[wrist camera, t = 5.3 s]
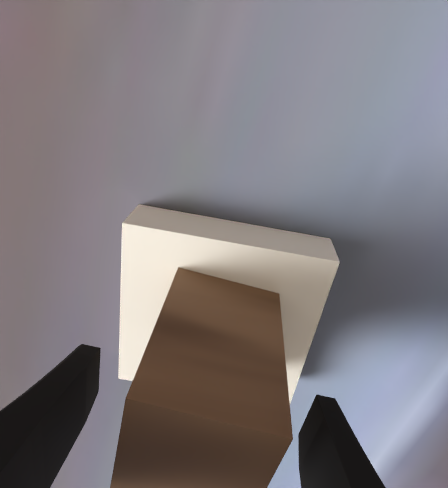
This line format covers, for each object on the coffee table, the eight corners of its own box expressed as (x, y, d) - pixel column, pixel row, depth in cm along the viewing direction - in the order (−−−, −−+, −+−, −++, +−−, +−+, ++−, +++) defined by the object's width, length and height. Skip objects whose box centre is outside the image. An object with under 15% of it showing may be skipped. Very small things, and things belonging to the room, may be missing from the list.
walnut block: (250, 366, 15) (246, 525, 10) (161, 344, 15) (109, 492, 10) (279, 293, 14) (292, 439, 8) (178, 267, 14) (125, 398, 8)
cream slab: (284, 368, 19) (287, 409, 16) (135, 341, 19) (118, 378, 17) (328, 233, 15) (339, 262, 13) (142, 199, 15) (122, 223, 13)
